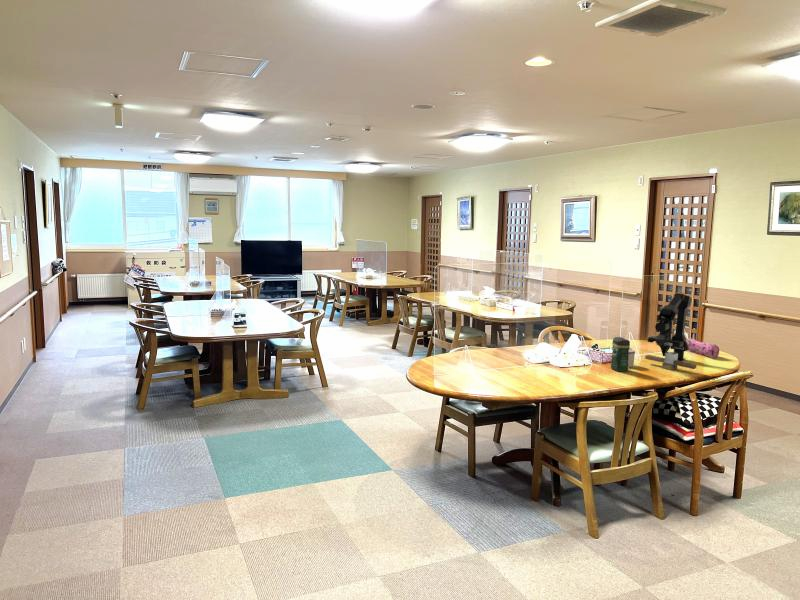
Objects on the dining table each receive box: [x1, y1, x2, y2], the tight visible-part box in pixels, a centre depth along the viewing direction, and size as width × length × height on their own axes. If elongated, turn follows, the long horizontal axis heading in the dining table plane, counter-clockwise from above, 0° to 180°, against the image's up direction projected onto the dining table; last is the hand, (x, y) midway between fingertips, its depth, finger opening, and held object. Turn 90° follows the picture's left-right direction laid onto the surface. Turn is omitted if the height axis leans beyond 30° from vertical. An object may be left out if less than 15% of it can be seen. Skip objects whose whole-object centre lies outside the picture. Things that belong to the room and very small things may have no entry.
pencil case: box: [686, 337, 720, 359], centre depth 374 cm, size 21×9×9 cm, turn 16°
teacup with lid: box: [628, 347, 636, 368], centre depth 344 cm, size 12×9×12 cm
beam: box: [644, 354, 698, 371], centre depth 340 cm, size 6×28×5 cm, turn 42°
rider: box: [664, 351, 678, 364], centre depth 339 cm, size 5×5×6 cm
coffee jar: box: [610, 336, 631, 373], centre depth 334 cm, size 10×8×19 cm
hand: (664, 356), depth 342 cm, fingers closed
